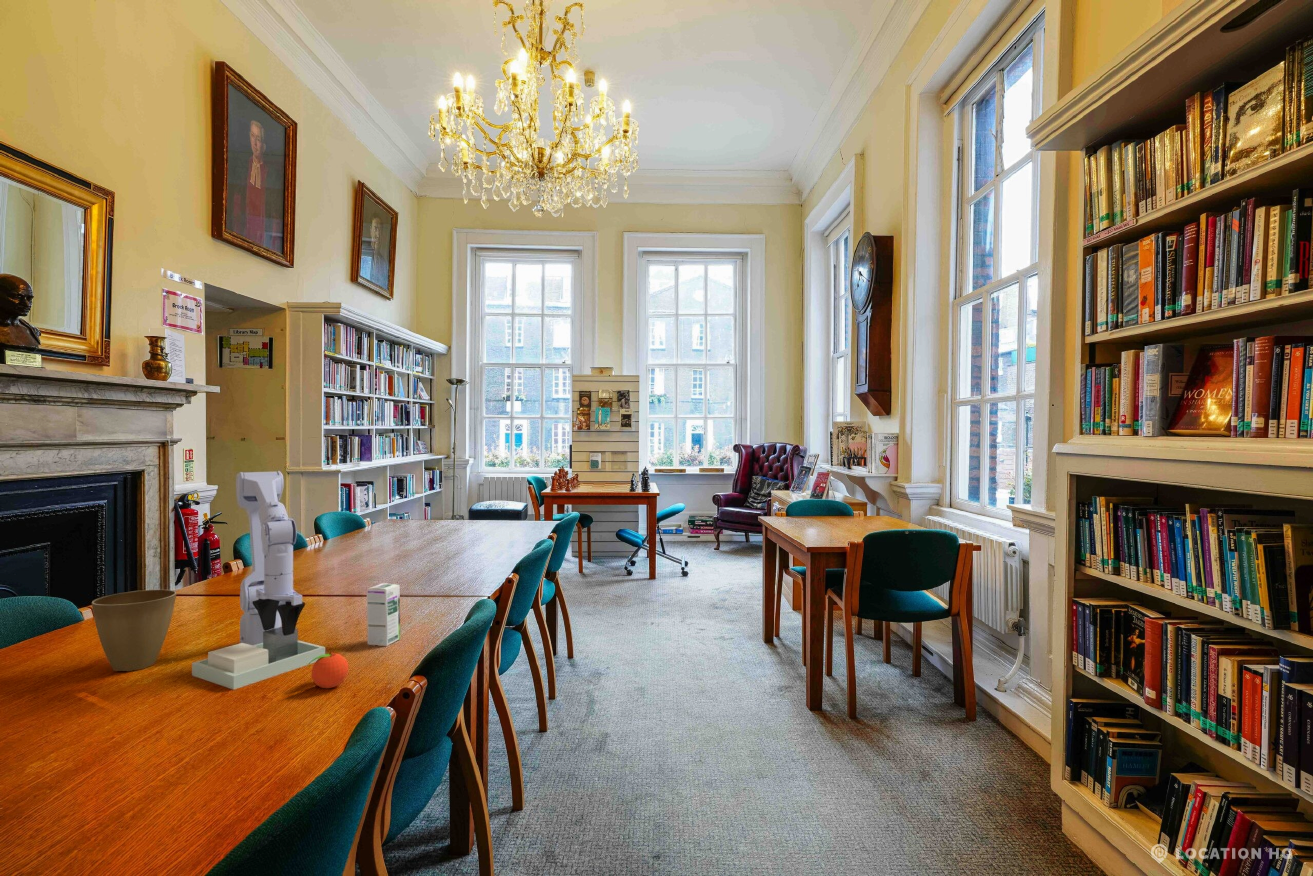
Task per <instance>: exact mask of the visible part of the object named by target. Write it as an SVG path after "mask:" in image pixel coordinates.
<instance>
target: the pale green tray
mask: <svg viewBox="0 0 1313 876" xmlns="http://www.w3.org/2000/svg"><path fill="white" fill-rule="evenodd" d="M253 646H256V647H260V648H263V643H260V644H256V645H253ZM325 654H326V647H325V646H323V645H318V644H314V643H310V642H305V641H302V640H299V639H298V655H295V656H292V657H289V658H286V659H282V660H279V661H276V662H273V663H270V664H267V665H263V666H260V667H257V668H254V669H251V670H248V671H245V672H241V673H238V674H233V673H230V672H227V671H224V670H221V669H218V668H214V667H211V666H208V657H207V658H205V659H201V660H198V661H194V662H191V676H192V677H195V678H199V679H201V680H204V681H207V682H210V683H213V684H215V685H219V686H221V687H225V688H228V689H230V690H233V691H234V690H237V689H239V688H240V689H241V688H244V687H246V686H249V685H252V684H254V683H258V682H261V681H263V680H264V681H265V680H267V679H270V678H273V677H276V676H279V675H282V674H285V673H288V672H290V671H294V670H296V669H300V668H302V667H303V668H304V667H305V666H306V667H307V665H308V664H309V663H310V662H311V661H312V660H313V659H315V658H316V657H318V656H321V655H325ZM318 659H319V658H318ZM318 659H316V660H314V661H312V662H311V663H310V664H309V665H311V664H315V662H316V661H317V660H318ZM309 665H308V666H309Z"/></svg>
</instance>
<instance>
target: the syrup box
mask: <svg viewBox="0 0 1313 876" xmlns="http://www.w3.org/2000/svg"><path fill="white" fill-rule="evenodd" d="M400 591H401V588H400V583H393V582H391V583H390V582H388V583H386V582H384V583H383V582H382V583H379V584H377V585H373V586H371V587H368V588H367V589H366V623H367V624H366V627H367V628H366V630H367V645H368V646H369V645H370V646H375V645H378V646H377V647H388V646H390V645H391V644H393V643H395V642H397V641H400V640H401V639H402V638H401V596H400V595H401V593H400Z"/></svg>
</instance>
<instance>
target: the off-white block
mask: <svg viewBox="0 0 1313 876" xmlns="http://www.w3.org/2000/svg"><path fill="white" fill-rule="evenodd" d="M207 658H208V666H211V667H214V668H218V669H221V670H224V671H227V672H230V673H233V674H238V673H241V672H245V671H248V670H251V669H254V668H257V667H260V666H263V665H267V664H268V650H267V649H263V648H260V647H256V646H252V645H249V644H245V643H240V642H239V643H236V644H233V645H229V646H225V647H221V648H218V649H215V650H211V651H208V653H207Z"/></svg>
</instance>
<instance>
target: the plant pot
mask: <svg viewBox="0 0 1313 876" xmlns="http://www.w3.org/2000/svg"><path fill="white" fill-rule="evenodd" d="M176 596H177V591H175V590H172V589H144V590H142V589H141V590H134V591H133V590H132V591H127V592H119V593H113V594H109V595H106V596H102V597H99V598H96V599H93V600H92V602H91V606H92V607H91V608H92V613H93V618H94V619H93V620H94V623H95V627H96V631H97V635H98V638H99V641H100V643H101V646H102V650H103V651H104V654H105V657H106V658H107V661H108V663H109V665H110V667H111V669H112V671H114V670H115V671H114V672H117V671H127V672H133V670H134V671H139V670H143V669H146V668H149V667H151V666H153V665H155V663H156V661H157V659H158V658H159V657H158V656H159V655H160V652H161V650H162V648H163V644H164V642H165V639H166V637H167V633H168V631H169V628H170V624H171V621H172V617H173V612H174V609H175V607H174V606H175V605H176V604H175V602H176V598H177V597H176Z"/></svg>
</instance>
